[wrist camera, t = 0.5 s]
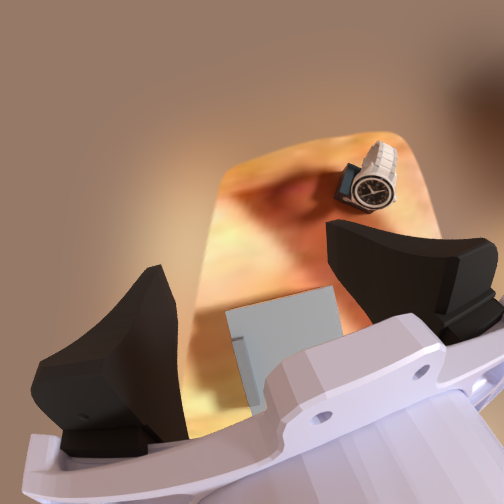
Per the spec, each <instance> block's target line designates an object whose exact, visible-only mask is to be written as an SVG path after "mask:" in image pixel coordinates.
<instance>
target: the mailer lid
mask: <svg viewBox="0 0 504 504" xmlns="http://www.w3.org/2000/svg"><path fill="white" fill-rule="evenodd" d="M225 314H226V318H227V322H228V326H229V330H230V334H231V338H232V345H233V349H234V352H235V356H236V360H237V364H238V368H239V371H240V375H241V379H242V383H243V386H244V390H245V394H246V397H247V401H248V404H249V407H250V409H251V412H252V416H254V415H257V414H259V413H261V412H263V411H265V410H267V409H266V401H265V397H264V394H263V389H264V384H265V379H266V377H267V376H268V375H269V374H270V373H271V372H272V371H273V370H274V369H275V368H276V367H277V366H278V364H279V363H280V362H281V361H282V360H284V359H286V358H288V357H290V356H292V355H294V354H296V353H298V352H300V351H302V350H305V349H308V348H311V347H314V346H317V345H320V344H323V343H326V342H329V341H331V340H334V339H337V338H340V337H343V332H342V327H341V322H340V317H339V312H338V308H337V303H336V299H335V294H334V290H333V285H331V286H327V287H323V288H319V289H316V290H312V291H308V292H304V293H300V294H296V295H292V296H288V297H284V298H280V299H276V300H272V301H268V302H264V303H259V304H255V305H251V306H246V307H242V308H238V309H233V310H229V311H225Z"/></svg>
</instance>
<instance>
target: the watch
mask: <svg viewBox="0 0 504 504" xmlns="http://www.w3.org/2000/svg"><path fill="white" fill-rule="evenodd" d="M363 161H364V162H363V164H362V168H359V167H357V166H355V165H352V164H350V163H348V164H347V166H346V167H345V169H344V170H343V172H342V175H341V178H340V181H339V184H338V187H337V190H336V193H335V196H334V199H336V200H339V201H341V202H344V203H346V204H348V205H351V206H353V207H355V208H358V209H360V210H362V211H364V212H367V213H369V214H371V213H372V212H374V211H375V210H379V209H383V208H385V207H387V206H389V205H390V204H391V203H392V202H395V201H396V198H397V196H395V184H396V177H397V173H395V170H396V165H397V151H396V149H395V148H393V147H391V146H389V145H387V144H385V143H383V142H381V141H377V142H376V143H375V144H374V145H372V147H371V148H370V150H369V152H368V154H367V156H366V158H364V160H363Z"/></svg>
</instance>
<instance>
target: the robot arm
mask: <svg viewBox="0 0 504 504" xmlns="http://www.w3.org/2000/svg"><path fill="white" fill-rule="evenodd" d="M326 235H327V254H328V264H329V265H330V267H331V269H332V270H333V272H334V274H335V275H336V277H337V279H338V280H339V281H340V282H341V284H342V285H343V286H344V287H345V288H346V290H347V291H348V292H349V293H350V294H351V296H352V297H353V298H354V299H355V300H356V302H357V303H358V304H359V305H360V306H361V308H362V309H363V310H364V311H365V313H366V314H367V316H368V317H369V318H370V320H371V322H372V323H373V325H371V326H369V327H366V328H364V329H361V330H358V331H356V332H353V333H351V334H348V335H345V336H343V337H340V338H337V339H334V340H331V341H329V342H326V343H323V344H320V345H317V346H314V347H311V348H308V349H305V350H302V351H300V352H298V353H296V354H294V355H292V356H290V357H288V358H286V359H284V360H282V361H281V362H280V363H279V364H278V366H277V367H276V368H275V369H274V370H273V371H272V372H271V373H270V374H269V375H268V376H267V377H266V379H265V384H264V389H263V394H264V397H265V401H266V409H267V410H265V411H263V412H261V413H259V414H257V415H254V416H252V417H250V418H248V419H245V420H243V421H241V422H238V423H236V424H234V425H231V426H229V427H226V428H224V429H221V430H219V431H216V432H214V433H211V434H209V435H206V436H203V437H201V438H195V439H189V436H188V432H187V427H186V422H185V417H184V412H183V407H182V401H181V395H180V389H179V381H178V371H177V344H178V318H177V309H176V302H175V300H174V297H173V295H172V292H171V290H170V287H169V284H168V282H167V279H166V276H165V274H164V271H163V269H162V266H161V265H156V266H152V267H149V268H147V269H146V270H145V271H144V272H143V273H142V274H141V276H140V277H139V278H138V280H137V281H136V282H135V283H134V284H133V286H132V287H131V288H130V290H129V291H128V292H127V293H126V295H125V296H124V297H123V298H122V299H121V300H120V302H119V303H118V304H117V305H116V306H115V307H114V308H113V309H112V311H110V313H108V314H107V315H106V316H105V317H104V318H103V319H102V320H101V321H100V322H99V323H98V324H97V325H96V326H94V327H93V328H92V329H91V330H89V331H88V332H87V333H86V334H84V335H83V336H82V337H81V338H79V339H78V340H77V341H75V342H73V343H72V344H70V345H69V346H67V347H66V348H64V349H62V350H61V351H59V352H57V353H55V354H54V355H52V356H50V357H48V358H46V359H44V360H42V361H40V363H39V366H38V369H37V371H36V375H35V377H34V381H33V383H32V386H31V395H32V397H33V399H34V401H35V403H36V404H37V405H38V407H39V408H40V409H41V410H42V411H43V412H44V413H45V414H46V415H47V416H48V417H49V418H50V419H51V420H52V421H53V422H55V423H56V424H57V425H58V426H59V427H60V428H61V429H62V430H63V434H62V438H60V437H58V436H55V435H48V434H31V438H30V442H29V447H28V453H27V458H26V464H25V470H24V476H23V484H22V492H23V494H25V495H27V496H29V497H30V498H32V499H34V500H36V501H38V502H40V503H42V504H504V448H503V446H502V445H501V443H500V442H499V440H498V439H497V437H496V436H495V435H494V433H493V432H492V430H491V429H490V428H489V426H488V425H487V424H486V422H485V421H484V419H483V418H482V417H481V415H480V414H479V412H480V411H481V410H482V409H483V408H484V407H485V406H486V405H487V404H488V403H490V402H491V401H492V400H493V399H494V398H495V397H496V396H497V395H498V394H499V393H500V392H501V391H502V390H503V389H504V296H503V297H502V298H501V299H500V301H499V302H498V301H497V300H496V299H495V298H493V297H495V294H496V293H495V291H494V290H493V289H491V288H490V287H491V284H492V281H493V278H494V274H495V270H496V267H497V262H498V252H497V247H496V246H495V245H494V244H493V243H492V242H490V241H488V240H487V239H485V238H472V239H459V240H443V239H428V238H418V237H412V236H405V235H400V234H395V233H391V232H387V231H383V230H379V229H375V228H372V227H368V226H365V225H361V224H358V223H354V222H350V221H346V220H339V219H338V220H333V221H329V222H326Z"/></svg>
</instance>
